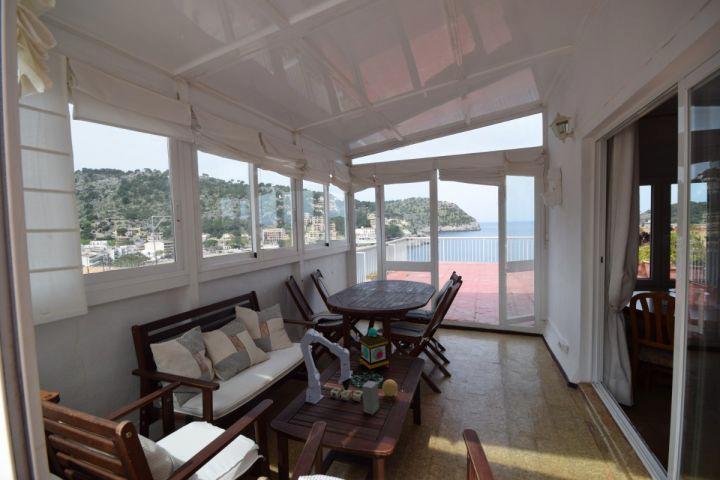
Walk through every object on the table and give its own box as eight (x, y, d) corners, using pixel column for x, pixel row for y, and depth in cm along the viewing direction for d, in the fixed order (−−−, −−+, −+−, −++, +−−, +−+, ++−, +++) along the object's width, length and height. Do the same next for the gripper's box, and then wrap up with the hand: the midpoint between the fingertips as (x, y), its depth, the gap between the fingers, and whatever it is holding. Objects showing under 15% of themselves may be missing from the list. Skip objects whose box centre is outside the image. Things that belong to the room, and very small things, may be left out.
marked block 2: (360, 402, 196) (359, 395, 196) (352, 400, 198) (352, 393, 198) (363, 397, 200) (363, 391, 200) (356, 395, 203) (356, 389, 203)
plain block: (348, 400, 198) (347, 394, 198) (341, 399, 200) (341, 392, 200) (352, 396, 202) (351, 390, 202) (345, 394, 205) (345, 389, 204)
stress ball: (390, 402, 196) (402, 390, 196) (379, 390, 196) (391, 378, 197) (389, 396, 206) (400, 385, 206) (378, 384, 206) (389, 373, 207)
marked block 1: (337, 398, 201) (336, 392, 200) (330, 396, 203) (330, 390, 203) (341, 394, 205) (341, 388, 205) (335, 392, 208) (334, 387, 207)
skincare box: (373, 415, 182) (371, 388, 181) (362, 411, 185) (361, 385, 184) (379, 407, 189) (378, 382, 188) (369, 404, 193) (368, 379, 192)
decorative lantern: (356, 364, 247) (355, 326, 245) (378, 358, 256) (376, 321, 254) (369, 374, 229) (367, 334, 227) (392, 367, 239) (390, 329, 237)
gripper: (344, 375, 192) (345, 396, 193) (356, 365, 204) (357, 385, 205) (335, 373, 195) (336, 394, 196) (347, 363, 208) (348, 383, 209)
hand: (346, 389), depth 201 cm, fingers closed
